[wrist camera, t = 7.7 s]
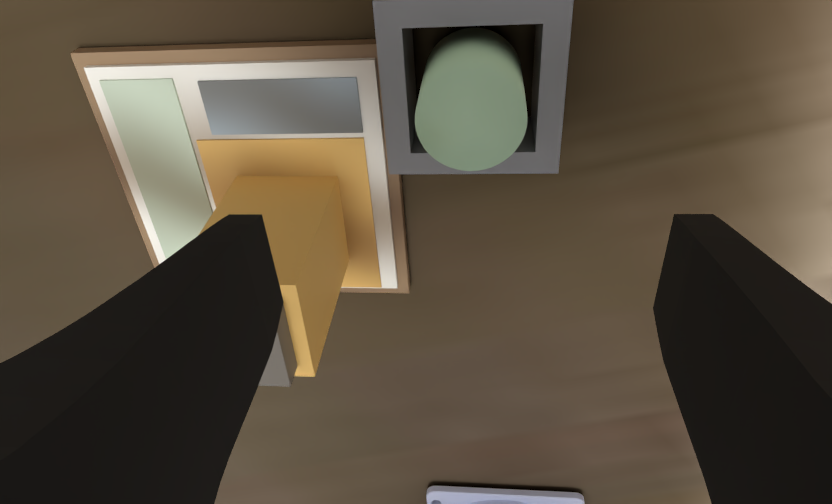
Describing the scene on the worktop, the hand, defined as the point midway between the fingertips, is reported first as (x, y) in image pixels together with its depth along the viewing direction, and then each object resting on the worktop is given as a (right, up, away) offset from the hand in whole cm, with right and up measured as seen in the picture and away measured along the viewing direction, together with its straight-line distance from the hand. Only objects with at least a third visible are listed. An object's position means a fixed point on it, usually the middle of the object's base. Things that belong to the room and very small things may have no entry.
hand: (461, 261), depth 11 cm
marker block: (-5, +1, +11) cm, 12 cm away
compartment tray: (-6, +3, +11) cm, 13 cm away
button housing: (+1, +6, +8) cm, 10 cm away
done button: (+1, +5, +7) cm, 9 cm away
